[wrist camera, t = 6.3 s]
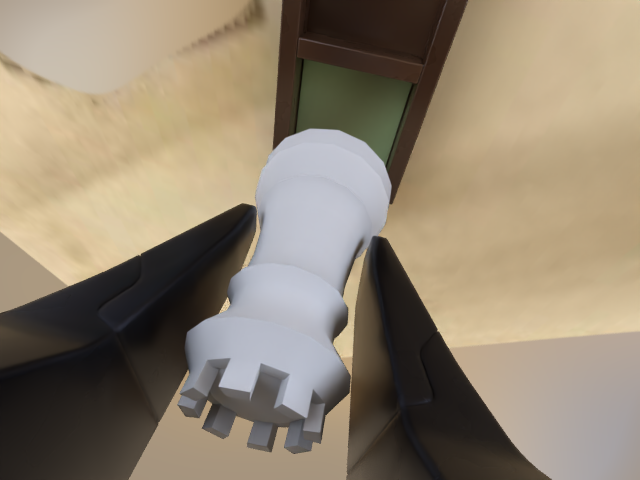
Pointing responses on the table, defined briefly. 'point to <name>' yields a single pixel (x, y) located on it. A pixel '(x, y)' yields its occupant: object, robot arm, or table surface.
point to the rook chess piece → (290, 294)
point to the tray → (363, 70)
